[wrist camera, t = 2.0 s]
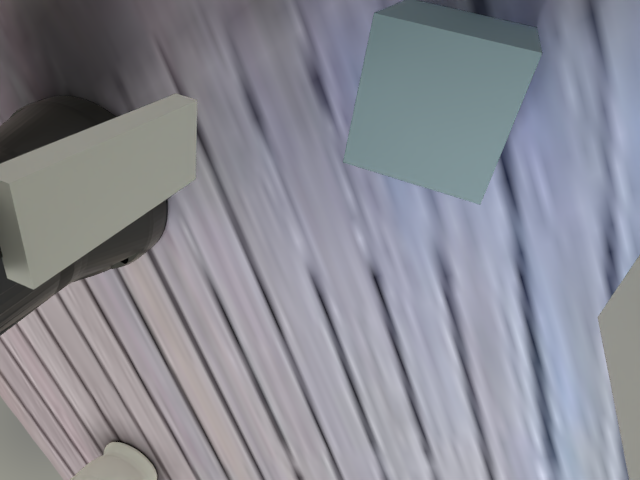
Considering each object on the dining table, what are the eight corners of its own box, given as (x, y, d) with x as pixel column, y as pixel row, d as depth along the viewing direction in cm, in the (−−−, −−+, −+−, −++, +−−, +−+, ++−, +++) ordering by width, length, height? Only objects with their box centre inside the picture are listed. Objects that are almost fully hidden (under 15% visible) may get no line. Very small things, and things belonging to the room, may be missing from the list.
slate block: (380, 118, 31) (342, 162, 24) (409, -2, 27) (374, 13, 20) (489, 148, 29) (480, 204, 23) (536, 27, 25) (542, 53, 19)
